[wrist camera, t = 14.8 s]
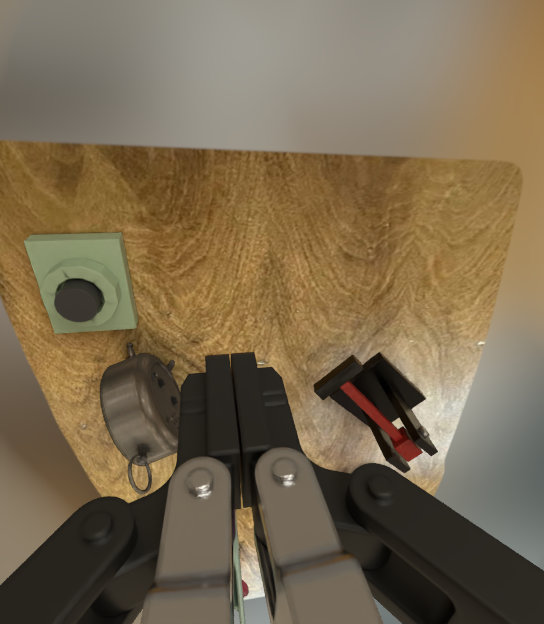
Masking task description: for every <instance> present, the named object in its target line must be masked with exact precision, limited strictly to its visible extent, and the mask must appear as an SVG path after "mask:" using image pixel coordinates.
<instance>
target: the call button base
mask: <svg viewBox="0 0 544 624" xmlns="http://www.w3.org/2000/svg"><path fill="white" fill-rule="evenodd" d="M24 244H25V247H26V250H27V253H28V256H29V259H30V262H31V265H32V268H33V271H34V274H35V277H36V279H37V282H38V285H39V288H40V294H41V297H42V300H43V303H44V306H45V308H46V309H47V312H48V315H49V318H50V321H51V324H52V327H53V329H54V332H55V334H58V333H74V332H90V331H105V330H121V329H136V327H137V323H138V316H137V310H136V305H135V300H134V294H133V289H132V284H131V279H130V273H129V268H128V263H127V257H126V252H125V247H124V241H123V236H122V233H85V234H45V235H30V236H29V237H28V238H27V239H26V240H25V241H24ZM76 279H80V280H85V281H88V282H90V283H92V284H93V285H95V286H96V287H97V288H98V289H99V291H100V293H101V296H102V302H101V304H100V307H99V309H98V312H97V314H96V315H95V317H94V318H92V319H91V320H89V321H86V322H73V321H69V320H67V319H65V318H63V317H62V316H61V315H60V314H59V313H58V312H57V310H56V308H55V305H54V300H55V297H56V295H57V294H58V292H59V290H60V289H61V287H62V286H63V285H64V284H65V283H66V282H68V281H71V280H76Z"/></svg>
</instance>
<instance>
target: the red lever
mask: <svg viewBox="0 0 544 624" xmlns="http://www.w3.org/2000/svg"><path fill="white" fill-rule="evenodd" d="M362 370H364V369H363V366H362V364H361V362H360V361H359V360H358V359H357V358H356V357H355V356H354V355H351V356H350V357H349V358H348V359H346V360H345V361H344V362H342V363H341V364H340V365H339V366H337V367H336V368H335V369H333V370H332V371H331V372H330V373H328V374H327V375H326V376H324V377H323V378H322V379H321V380H319V381H318V382H317V383H315V384H314V385H313V386H314V392H315V393H316V394H317V395H318V396H319V397H320V398H321V399H322V400H324V399H325V398H327V397H328V396H329V395H331V394H332V393H333V392H335V391H336V390H337V389H339V388H341V389H342V390H343V391H344V392H345V393H346V394H347V395H348V396H349V397H350V398H351V399H352V400H353V401H354V402H355V403H356V404H357V405H358V406H359V407H360V408H362V409H363V410H364V411H365V412H366V413H367V414H368V415H369V416H370V417H371V418H372V419H373V420H374V421H375V422H376V423H377V424H378V425H379V426H380V427H381V428H382V429H383V430H384V431H385V432H386V433H387V434H388V435H389V437H390V439H391V442H392V444H393V447H394V449H395V450H396V451H397V452H398V453H399V454H400V455H401V456H402V457H403V458H404V459H405V460H406V461H407V462H409V461H410V460H412V459H414V458H415V457H417V456H418V455H420V454H421V453H423V452H422V450H421V448H420V447H419V446H418V445H417V444H415V443H414V442H413V440H412V438H411V436H410V435H409V433H408V431H407V430H406V429H405V428H404V427H401V428H400V429H397V428H396V427H395V426H394V425H393V424H392V423H391V422H390V421H389V420H388V419H387V418H386V417H385V416H384V415H383V414H382V413H381V412H380V411H379V410H378V409H377V408H376V407H375V406H374V405H373V404H372V403H371V402H370V401H369V400H368V399H367V398H366V397H365V396H364V395H363V394H362V393H361V392H360V391H359V390H358V389H357V388H356V387H355V386H354V385H353V384H352V383H351V382H350V381H349V380H351V379H352V378H353V377H354V376H356V375H357V374H358V373H360V372H361V371H362Z"/></svg>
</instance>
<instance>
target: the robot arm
mask: <svg viewBox="0 0 544 624" xmlns="http://www.w3.org/2000/svg"><path fill="white" fill-rule="evenodd" d="M205 361H206V373H196V374H188V376H187V378H186V379H185V381H184V383H183V384H182V386H181V394H180V416H179V431H178V450H177V463H176V467H175V470H174V472H173V474H172V476H171V477H170V478H169V480H168V481H167V482H166V483H165V484H164V485H163V486H162V487H161V488H159V489H158V490H156V491H155V492H153V493H151V494H149V495H147V496H145V497H142V498H140V499H138V500H136V501H133V502H131V503H129V504H128V503H127V502H126V501H125V500H123V499H121V498H118V497H112V496H108V497H101V498H97V499H94V500H92V501H90V502H88V503H86V504H85V505H83V506H82V507H81V508H79V509H78V510H77V511H76V512H74V513H73V514H72V515H71V517H70V518H68V519H67V520H66V521H65V522H64V523H63V524H62V525H61V526H60V527H59V528H58V529H57V530H56V531H55V532H54V533H53V534H52V535H51V536H50V537H49V538H48V539H47V540H46V541H45V542H44V543H43V544H42V545H41V546H40V547H39V548H38V549H37V550H36V551H35V552H34V553H33V554H32V555H31V556H30V557H29V558H28V559H27V560H26V561H25V562H24V563H23V564H22V565H21V566H20V567H19V568H18V569H16V570H15V572H13V574H11V575H10V576H9V578H7V579H6V580H5V581H4V582H3V583H2V584H1V585H0V624H132V623H133V622H134V620H135V619H136V617H137V616H138V614H139V613H140V612H141V610H142V609H143V612H142V618H141V624H234V540H235V535H236V525H235V509H241V490H242V500H243V508H246V507H252V513H253V521H254V541H255V546H256V551H257V556H258V561H259V566H260V572H261V577H262V582H263V587H264V592H265V597H266V602H267V607H268V613H269V617H270V623H271V624H383V621H382V619H381V616H380V614H379V611H378V609H377V606H376V604H375V601H374V599H373V597H374V598H375V599H376V600H377V601H378V602H379V603H380V604H381V605H383V606H384V607H385V608H386V609H387V610H388V611H389V612H390V613H391V614H392V615H393V616H395V617H396V618H397V619H398V620H399V621H400V622H401V623H402V624H544V571H543V570H542V569H540V568H539V567H537V566H536V565H534V564H533V563H531V562H530V561H528V560H527V559H525V558H524V557H522V556H521V555H519V554H518V553H516V552H515V551H513V550H512V549H510V548H509V547H507V546H506V545H504V544H503V543H502V542H500V541H499V540H497V539H495V538H494V537H493V536H491V535H490V534H488V533H486V532H485V531H484V530H482V529H481V528H479V527H478V526H476V525H475V524H473V523H472V522H470V521H469V520H467V519H466V518H464V517H463V516H461V515H460V514H458V513H457V512H455V511H454V510H452V509H451V508H450V507H448V506H447V505H445V504H444V503H442V502H441V501H439V500H437V499H436V498H435V497H433V496H432V495H430V494H429V493H427V492H426V491H424V490H423V489H421V488H420V487H418V486H417V485H415V484H414V483H412V482H411V481H409V480H408V479H406V478H405V477H403V476H402V475H400V474H399V473H398V472H396V471H395V470H393V469H391V468H389V467H387V466H385V465H381V464H376V463H368V464H364V465H361V466H359V467H358V468H356V469H355V470H354V471H353V473H352V474H349V473H343V472H338V471H332V470H328V469H325V468H322V467H320V466H318V465H316V464H315V463H313V462H312V461H311V460H310V459H309V458H307V456H306V455H305V454H304V452H303V450H302V448H301V446H300V442H299V439H298V435H297V431H296V428H295V424H294V420H293V417H292V413H291V409H290V406H289V404H288V399H287V395H286V393H285V388H284V384H283V380H282V377H281V376H280V375H279V374H278V373H277V372H276V371H275V370H274V369H273V367H266V368H257V363H256V358H255V354H254V352H246V353H233V354H231V368H230V359H229V354H222V355H209V356H205ZM240 481H241V490H240Z"/></svg>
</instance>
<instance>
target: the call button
mask: <svg viewBox="0 0 544 624" xmlns="http://www.w3.org/2000/svg"><path fill="white" fill-rule="evenodd" d="M101 302H102V296H101V293H100V291H99V289H98V288H97V287H96V286H95V285H93V284H92V283H90V282H88V281H85V280H80V279H76V280H71V281H68V282H66V283H65V284H64V285H63V286H62V287H61V289H60V290H59V292H58V294H57V295H56V297H55V300H54V305H55V308H56V310H57V312H58V313H59V314H60V315H61V316H62V317H63V318H65V319H67V320H69V321H73V322H86V321H89V320H91V319H92V318H94V317H95V315H96V314H97V312H98V309H99V307H100V304H101Z"/></svg>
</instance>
